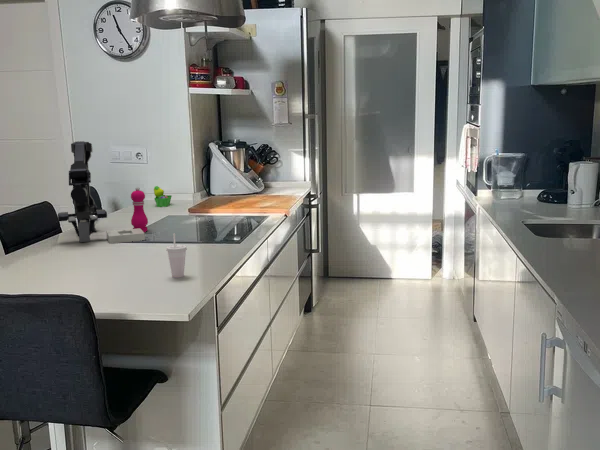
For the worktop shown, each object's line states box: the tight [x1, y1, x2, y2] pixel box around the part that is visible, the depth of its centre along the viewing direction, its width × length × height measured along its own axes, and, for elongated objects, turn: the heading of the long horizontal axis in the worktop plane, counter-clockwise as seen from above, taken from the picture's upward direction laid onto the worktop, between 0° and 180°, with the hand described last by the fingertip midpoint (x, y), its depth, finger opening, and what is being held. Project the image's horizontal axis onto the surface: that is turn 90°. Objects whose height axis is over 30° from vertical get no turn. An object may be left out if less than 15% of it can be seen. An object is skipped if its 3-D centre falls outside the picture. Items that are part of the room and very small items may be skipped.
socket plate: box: [105, 228, 146, 244], centre depth 250 cm, size 12×14×3 cm
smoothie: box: [166, 233, 188, 279], centre depth 191 cm, size 6×6×14 cm
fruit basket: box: [153, 185, 173, 208], centre depth 339 cm, size 11×9×11 cm
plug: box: [77, 219, 91, 243], centre depth 246 cm, size 4×4×9 cm
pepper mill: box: [130, 186, 149, 233], centre depth 264 cm, size 7×7×20 cm
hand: (84, 235), depth 246 cm, fingers closed on plug, 4 cm apart
